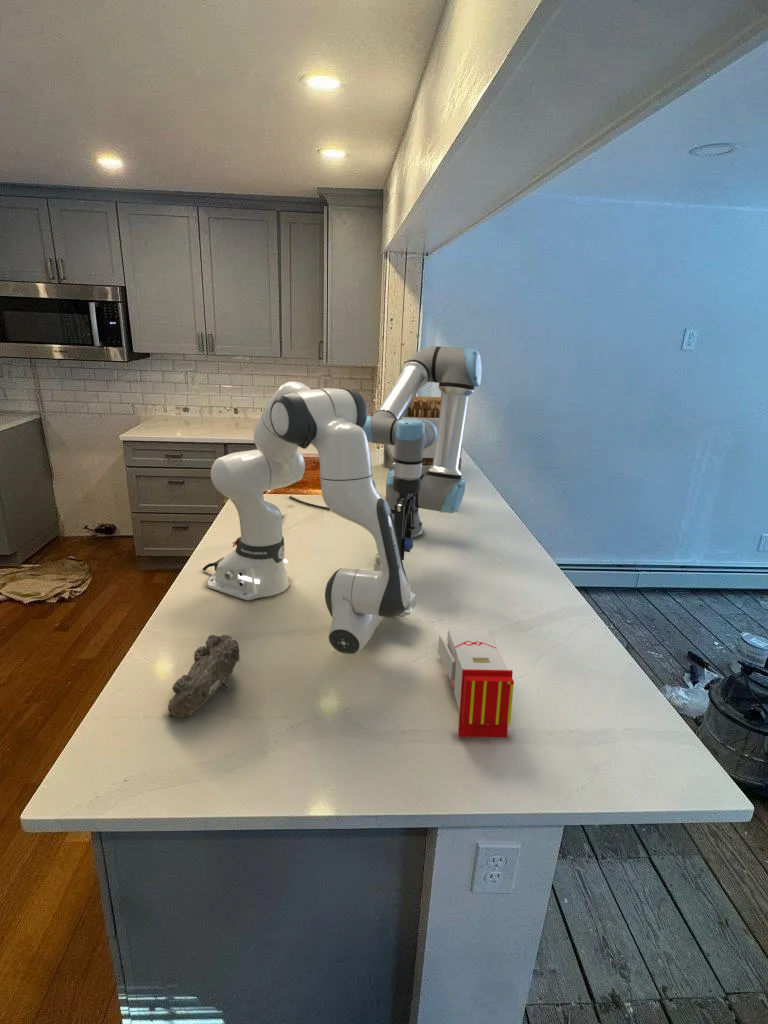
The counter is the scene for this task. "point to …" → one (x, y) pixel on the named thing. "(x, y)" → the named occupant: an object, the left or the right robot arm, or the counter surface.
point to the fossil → (204, 675)
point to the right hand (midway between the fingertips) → (402, 554)
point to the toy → (478, 682)
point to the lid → (408, 543)
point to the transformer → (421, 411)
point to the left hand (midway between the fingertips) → (383, 584)
